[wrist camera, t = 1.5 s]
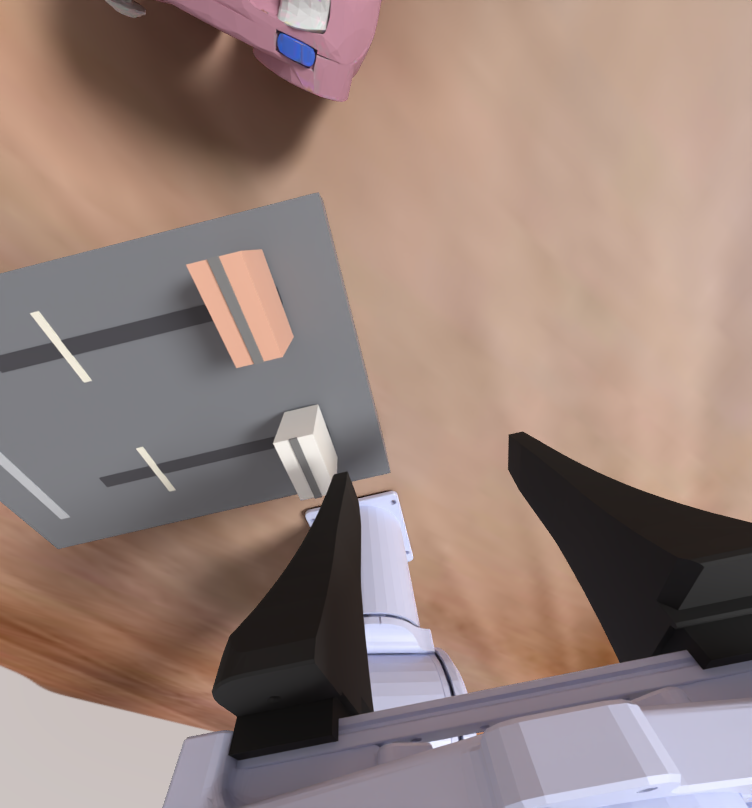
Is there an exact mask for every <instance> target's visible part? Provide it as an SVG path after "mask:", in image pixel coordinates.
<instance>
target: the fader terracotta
mask: <svg viewBox="0 0 752 808" xmlns="http://www.w3.org/2000/svg"><path fill="white" fill-rule="evenodd" d="M186 266H187V268H188V270H189V272H190V274H191V276H192V278H193V280H194V282H195V284H196V287H197V289H198V291H199V293H200V295H201V297H202V299H203V301H204V303H205V305H206V307H207V309H208V311H209V313H210V315H211V317H212V319H213V321H214V323H215V325H216V328H217V330H218V332H219V334H220V336H221V338H222V340H223V342H224V344H225V346H226V348H227V350H228V352H229V354H230V356H231V358H232V360H233V362H234V364H235V367H236V368H239V367H243V366H247V365H252V364H254V365H256V364H260V363H264V361H268V360H272V359H276V358H280V357H283V355H284V354H285V352H286V350H287V348H288V346H289V345H290V343H291V341H292V339H293V337H294V336H293V333H292V331H291V328H290V325H289V322H288V319H287V317H286V314H285V311H284V308H283V306H282V303H281V300H280V297H279V295H278V292H277V289H276V286H275V284H274V281H273V278H272V275H271V273H270V270H269V267H268V264H267V262H266V259H265V256H264V253H263V251H262V249H259V250H245V251H238V252H234V253H230V254H226V255H222V256H215V257H211V258H207V259H206V260H202V261H198V262H194V263H190V264H187V265H186Z"/></svg>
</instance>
